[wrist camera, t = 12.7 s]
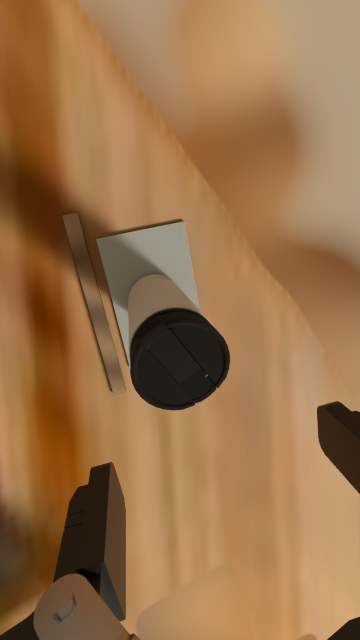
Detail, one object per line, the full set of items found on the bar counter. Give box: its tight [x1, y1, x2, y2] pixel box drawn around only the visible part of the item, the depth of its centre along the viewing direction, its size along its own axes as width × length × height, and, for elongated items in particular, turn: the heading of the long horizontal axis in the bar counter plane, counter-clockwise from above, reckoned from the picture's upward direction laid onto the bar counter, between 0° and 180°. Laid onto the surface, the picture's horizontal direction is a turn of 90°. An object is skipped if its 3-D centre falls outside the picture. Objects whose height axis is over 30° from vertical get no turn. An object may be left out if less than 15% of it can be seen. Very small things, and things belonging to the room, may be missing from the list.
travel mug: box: [128, 274, 230, 410], centre depth 28 cm, size 6×7×20 cm
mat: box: [96, 221, 200, 367], centre depth 37 cm, size 16×10×1 cm, turn 11°
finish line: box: [62, 212, 126, 395], centre depth 37 cm, size 22×2×1 cm, turn 11°
